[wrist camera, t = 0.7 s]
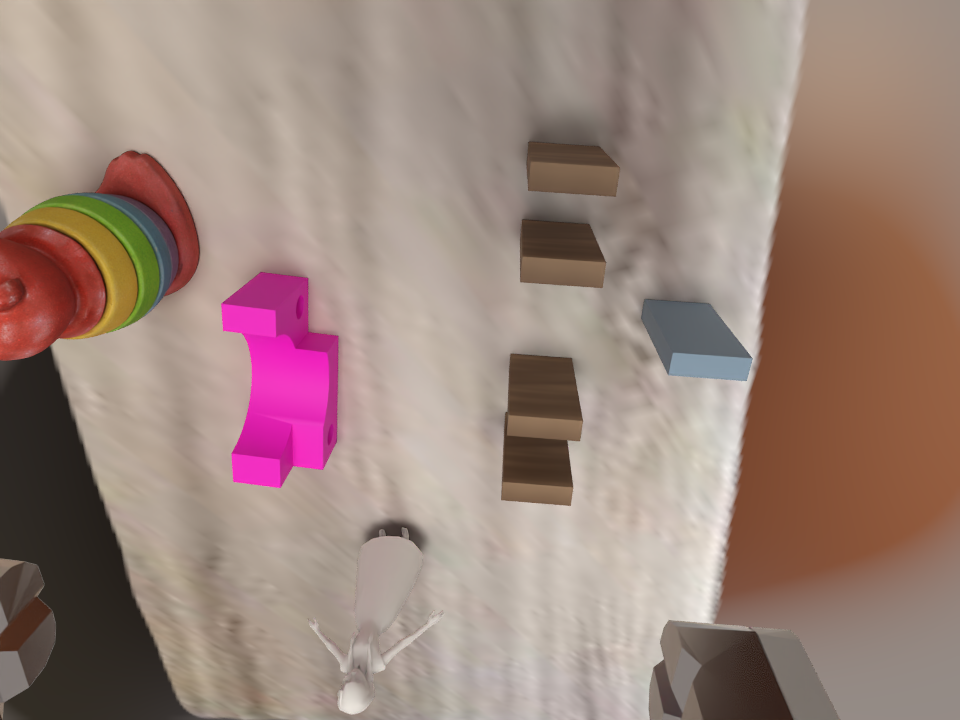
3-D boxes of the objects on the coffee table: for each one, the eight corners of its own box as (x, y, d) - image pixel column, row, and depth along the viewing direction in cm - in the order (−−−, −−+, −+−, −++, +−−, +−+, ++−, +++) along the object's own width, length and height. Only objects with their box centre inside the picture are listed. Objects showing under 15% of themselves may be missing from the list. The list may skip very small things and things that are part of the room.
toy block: (337, 440, 56) (312, 492, 50) (268, 431, 56) (233, 481, 50) (339, 281, 50) (311, 315, 43) (262, 271, 50) (221, 303, 43)
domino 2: (521, 219, 47) (522, 256, 38) (589, 224, 47) (606, 262, 38) (520, 240, 48) (520, 282, 38) (586, 245, 47) (602, 288, 38)
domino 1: (528, 141, 44) (530, 161, 35) (599, 146, 44) (620, 167, 35) (526, 165, 45) (528, 190, 36) (596, 169, 45) (615, 196, 36)
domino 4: (505, 412, 54) (502, 481, 45) (564, 416, 54) (573, 487, 45) (504, 428, 55) (501, 500, 46) (561, 432, 54) (570, 505, 45)
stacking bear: (141, 138, 46) (-63, 179, 30) (234, 253, 49) (96, 345, 33) (44, 217, 49) (-188, 293, 33) (139, 321, 52) (-31, 436, 36)
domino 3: (510, 353, 52) (508, 415, 42) (571, 358, 51) (582, 421, 42) (509, 371, 52) (506, 435, 43) (569, 375, 52) (579, 441, 43)
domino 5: (644, 299, 49) (672, 352, 40) (709, 303, 49) (752, 358, 40) (641, 318, 50) (668, 375, 41) (705, 323, 49) (746, 381, 40)
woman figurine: (451, 513, 59) (425, 685, 43) (458, 550, 61) (436, 728, 44) (331, 522, 60) (261, 693, 44) (341, 558, 62) (278, 735, 46)
